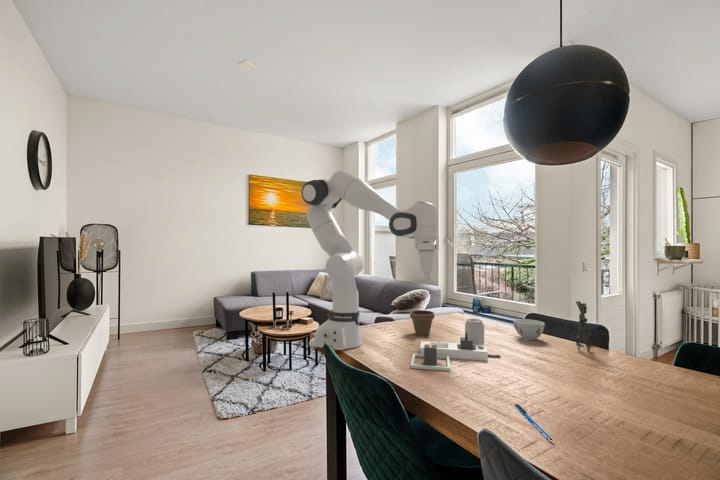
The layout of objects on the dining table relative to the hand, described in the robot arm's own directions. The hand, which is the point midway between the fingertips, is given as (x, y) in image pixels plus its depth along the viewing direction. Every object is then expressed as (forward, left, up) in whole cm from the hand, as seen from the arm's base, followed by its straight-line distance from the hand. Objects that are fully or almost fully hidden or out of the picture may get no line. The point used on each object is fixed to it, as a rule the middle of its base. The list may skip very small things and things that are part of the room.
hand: (427, 282), depth 131 cm
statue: (+61, +25, -29) cm, 72 cm away
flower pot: (-4, +39, -29) cm, 49 cm away
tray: (+1, -6, -29) cm, 29 cm away
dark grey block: (+1, -6, -28) cm, 28 cm away
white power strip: (+12, +6, -28) cm, 32 cm away
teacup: (+43, +41, -29) cm, 66 cm away
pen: (+26, -41, -29) cm, 57 cm away
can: (+18, +18, -29) cm, 39 cm away
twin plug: (+14, +6, -28) cm, 32 cm away
